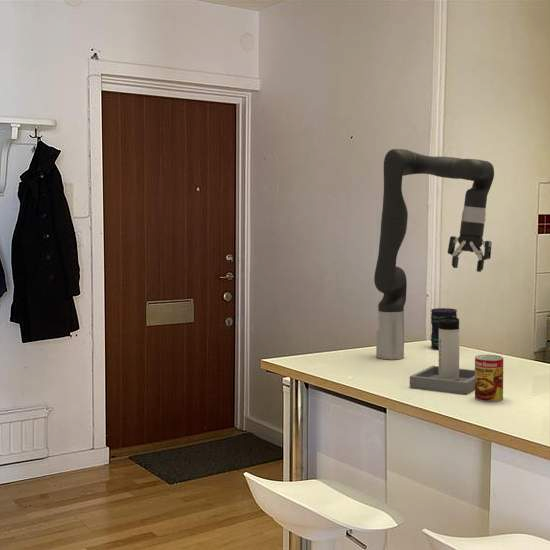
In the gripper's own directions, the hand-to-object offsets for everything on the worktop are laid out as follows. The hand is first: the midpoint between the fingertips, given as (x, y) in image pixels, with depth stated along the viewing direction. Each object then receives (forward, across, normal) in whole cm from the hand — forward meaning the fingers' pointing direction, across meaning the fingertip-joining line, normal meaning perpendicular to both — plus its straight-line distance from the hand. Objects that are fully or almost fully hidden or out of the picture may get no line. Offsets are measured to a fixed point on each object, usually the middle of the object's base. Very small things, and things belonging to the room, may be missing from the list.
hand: (466, 269), depth 262 cm
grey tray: (+34, +8, -20) cm, 41 cm away
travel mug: (+34, +8, -20) cm, 40 cm away
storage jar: (+35, -21, +34) cm, 53 cm away
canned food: (+33, +25, -29) cm, 51 cm away
